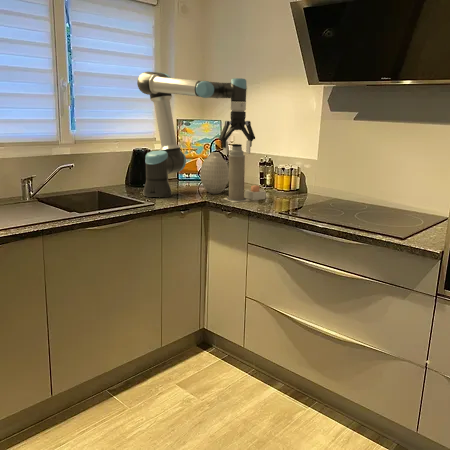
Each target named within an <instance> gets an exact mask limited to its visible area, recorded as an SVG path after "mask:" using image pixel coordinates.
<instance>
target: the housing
mask: <svg viewBox="0 0 450 450" xmlns="http://www.w3.org/2000/svg"><path fill="white" fill-rule="evenodd" d="M266 196H267V192H266V190H263V189H259V191H258V192H253V191H251V189H244V198H246V199H249V200H250V201H258V200H266Z"/></svg>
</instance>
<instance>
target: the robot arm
mask: <svg viewBox="0 0 450 450" xmlns="http://www.w3.org/2000/svg"><path fill="white" fill-rule="evenodd" d="M230 81H231V82H217V81H208V80H197V79H195V80H194V79H186V78H185V79H184V78H179V77H178V78H177V77H171V76H170V75H169V74H167V73H165V72H161V71H159V72H157V71H156V72H155V71H145V72H142V73H141V74H139V76H138V78H137V88H138V90H139V91H140V92H141V93H142V94H145V95H147V96H149V98H150V101H151V102H152V103H153V105H154V111H155V117H156V123H157V129H158V134H159V140H160V146H161V147H160V149H159V150H152V151H149V152H147V153H146V154H145V161H144V162H145V163H144V164H145V184H144V187H143V191H142V196H143V195H144V196H147V197H146V198H148V197H159V198H158V199H161V198H160V197H165V198H168V197H169V196H170V197H172V194H173V193H172V189H171V185H170V183H169V175H170V174H175V173H176V174H177V173H179V172H181V171H182V170H184V169H185V167H186V165H187V157H186V154H184V153H183V152H182V151H181V147H180V146H179V145H178V143H177V138H176V131H175V125H174V120H173V111H172V107H171V101H170V100H171V99H172V98H173V96H172V95H180V96H181V95H182V96H188V97H189V96H190V97H198V98H203V99H211V98H212V99H230V111H231V112H230V120H225V121H224V126H223V128H222V130H221V132H220V134H219V137H218V140H219V141H221V142H222V148H223V155H225V156H227V155H228V153H229V152H228V150H229V147H228V145H229V142H228V140H229V138H230V137H231V135H232V134H233V132H235V131H241V132H242V133H243V135H244V136H245V137H246V139H247V140H246V146H245V147H246V149H245V154H248V155H250V154H251V147H252V145H253V143H252V142H253V141H254V140H256V136H255V133H254V130H253V128H252V123H251V121H250V120H246V117H247V115H246V113H247V112H246V109H247V108H246V107H247V89H248V88H247V79H245V78H238V77H237V78H235V77H234V78H231V80H230ZM245 126H246V127H245ZM144 196H143V197H144ZM170 197H169V198H170Z"/></svg>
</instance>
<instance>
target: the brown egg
mask: <svg viewBox="0 0 450 450" xmlns="http://www.w3.org/2000/svg"><path fill="white" fill-rule="evenodd" d="M250 190H251V191H253V192H258V191H259V190H261V189H260V185H255V184H254V185H251V186H250Z"/></svg>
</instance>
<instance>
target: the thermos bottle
mask: <svg viewBox="0 0 450 450" xmlns="http://www.w3.org/2000/svg"><path fill="white" fill-rule="evenodd" d="M231 147H232V148H231V150H230V151H229V152H230V154H229V156H228V168H229V181H228V198H229V199H231V200H243V199H244V198H245V169H246V168H245V165H246V161H245V159H246V157H245V155H244V150H242V149H243V148H242V147H243V145H242V144H240V143H236V144H235V143H233V144H231Z"/></svg>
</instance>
